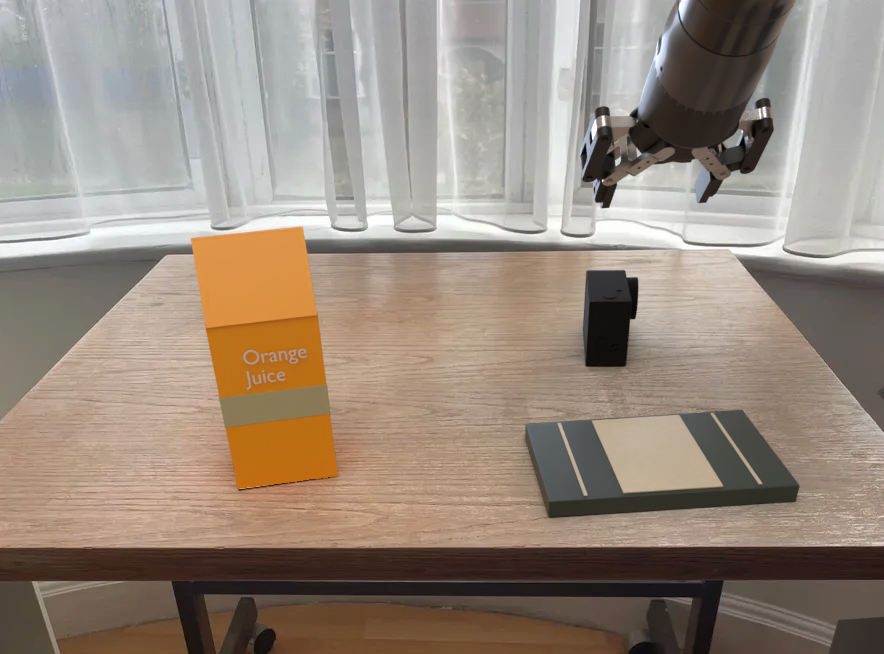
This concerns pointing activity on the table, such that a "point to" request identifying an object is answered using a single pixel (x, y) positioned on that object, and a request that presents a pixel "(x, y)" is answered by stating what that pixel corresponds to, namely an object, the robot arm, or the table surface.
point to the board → (655, 463)
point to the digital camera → (608, 316)
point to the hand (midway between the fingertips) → (651, 196)
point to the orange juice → (266, 354)
